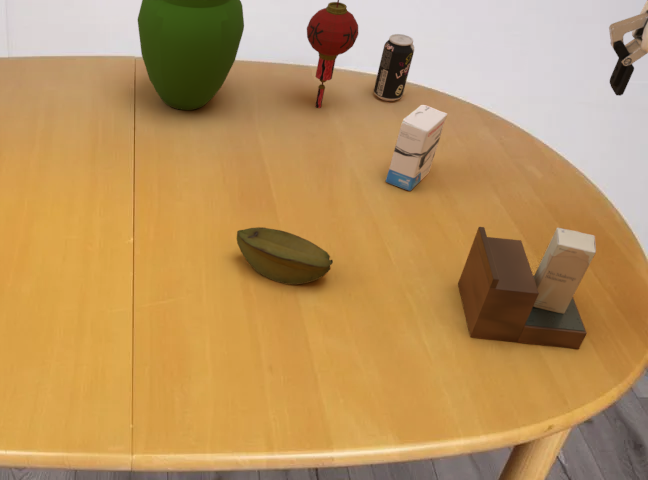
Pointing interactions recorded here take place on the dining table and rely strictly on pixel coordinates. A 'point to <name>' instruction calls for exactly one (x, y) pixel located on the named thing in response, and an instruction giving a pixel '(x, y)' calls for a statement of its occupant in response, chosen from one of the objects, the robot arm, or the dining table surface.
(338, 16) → the lantern
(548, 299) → the box
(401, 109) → the dining table surface
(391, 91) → the beverage can
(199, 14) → the vase
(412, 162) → the ink box
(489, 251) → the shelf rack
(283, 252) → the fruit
